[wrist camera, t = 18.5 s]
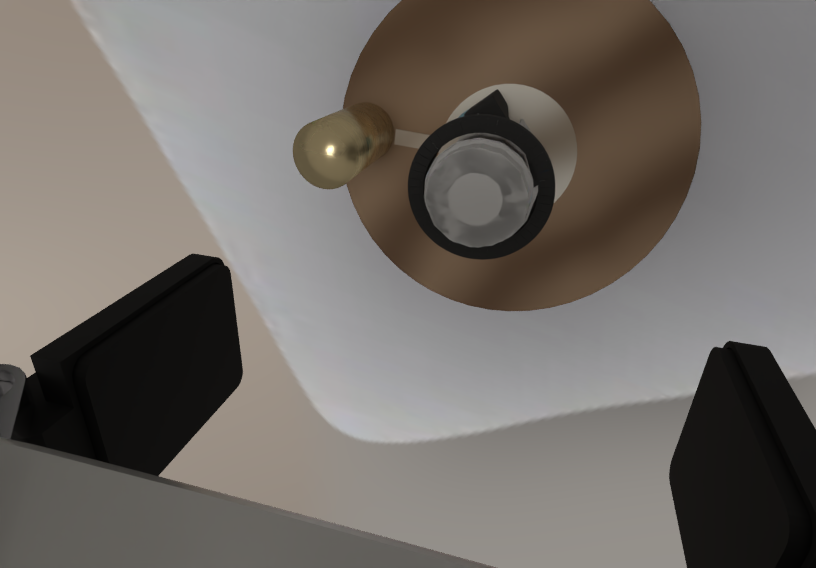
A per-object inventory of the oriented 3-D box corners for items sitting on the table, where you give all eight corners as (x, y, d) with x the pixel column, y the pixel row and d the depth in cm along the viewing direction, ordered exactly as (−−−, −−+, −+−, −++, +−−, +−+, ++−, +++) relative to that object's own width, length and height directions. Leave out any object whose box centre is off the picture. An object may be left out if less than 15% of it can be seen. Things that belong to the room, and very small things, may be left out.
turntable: (766, 169, 27) (839, 222, 20) (486, 345, 35) (468, 425, 28) (542, -143, 24) (535, -211, 17) (292, 129, 32) (219, 159, 25)
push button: (589, 180, 27) (604, 256, 18) (498, 232, 29) (473, 320, 21) (520, 63, 26) (500, 86, 17) (430, 127, 28) (372, 176, 19)
